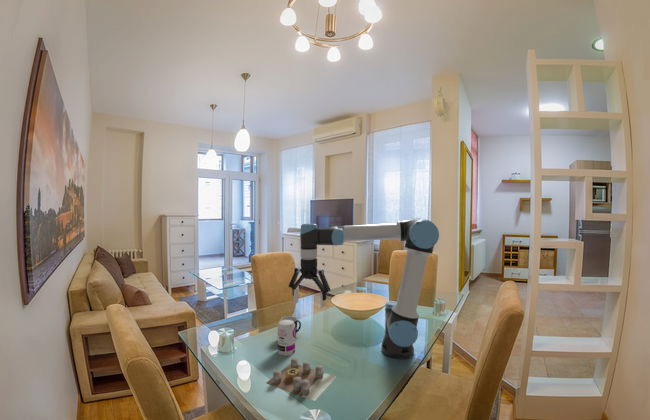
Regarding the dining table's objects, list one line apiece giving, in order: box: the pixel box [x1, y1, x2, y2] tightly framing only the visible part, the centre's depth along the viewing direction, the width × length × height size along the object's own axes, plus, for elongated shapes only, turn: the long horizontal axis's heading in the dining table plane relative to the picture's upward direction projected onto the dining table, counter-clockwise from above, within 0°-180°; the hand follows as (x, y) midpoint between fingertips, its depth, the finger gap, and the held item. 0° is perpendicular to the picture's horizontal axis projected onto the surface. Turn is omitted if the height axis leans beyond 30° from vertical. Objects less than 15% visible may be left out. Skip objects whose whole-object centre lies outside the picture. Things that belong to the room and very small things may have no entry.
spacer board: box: [266, 357, 337, 402], centre depth 115 cm, size 22×17×5 cm
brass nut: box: [286, 368, 299, 381], centre depth 116 cm, size 4×5×3 cm
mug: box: [279, 315, 302, 338], centre depth 154 cm, size 12×9×10 cm
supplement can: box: [277, 319, 296, 357], centre depth 137 cm, size 8×8×15 cm
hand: (309, 305), depth 131 cm, fingers open, 13 cm apart
